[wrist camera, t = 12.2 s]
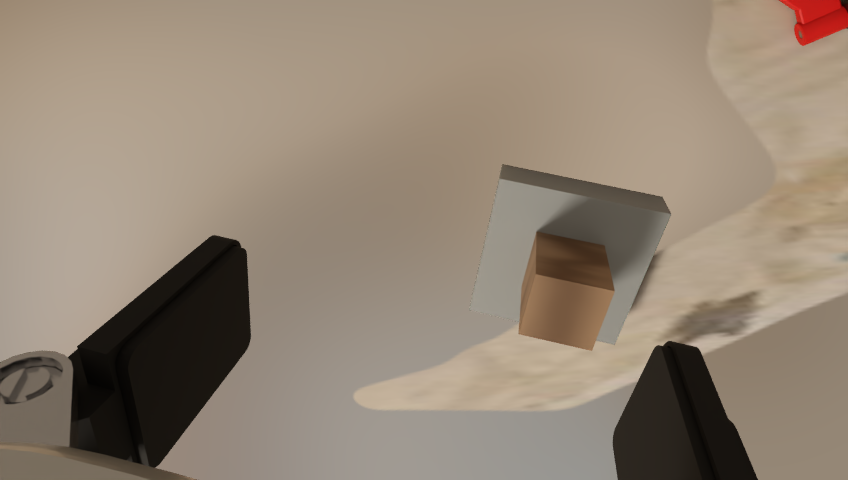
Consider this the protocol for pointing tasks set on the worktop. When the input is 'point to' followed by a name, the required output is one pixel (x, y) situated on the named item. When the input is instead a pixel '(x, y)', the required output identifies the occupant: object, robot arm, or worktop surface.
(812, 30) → the red and grey piece
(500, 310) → the base slab
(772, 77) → the worktop surface
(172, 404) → the robot arm
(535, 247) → the walnut block
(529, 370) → the worktop surface
